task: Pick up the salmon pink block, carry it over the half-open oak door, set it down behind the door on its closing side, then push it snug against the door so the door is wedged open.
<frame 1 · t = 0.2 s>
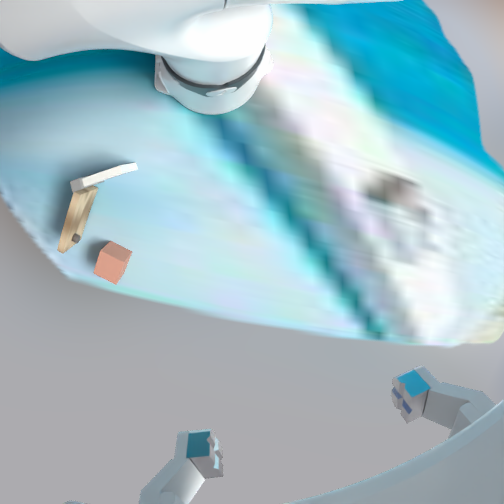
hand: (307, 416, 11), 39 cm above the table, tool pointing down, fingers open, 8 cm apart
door: (79, 219, 40), point 4 cm above the table, hinge at 50.0°
salmon pink block: (117, 256, 47), on the table
light grey slab: (99, 178, 42), on the table
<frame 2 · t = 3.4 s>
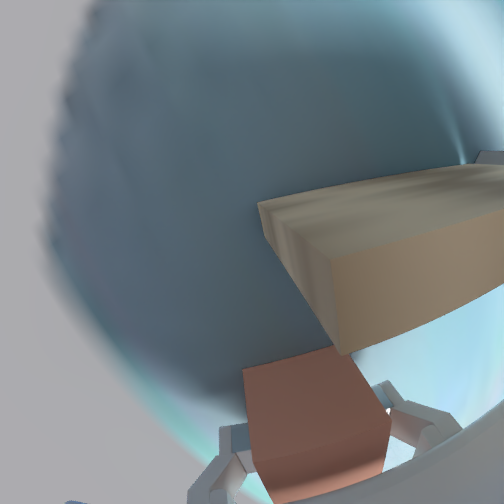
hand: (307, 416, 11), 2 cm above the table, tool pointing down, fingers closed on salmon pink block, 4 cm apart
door: (451, 218, 7), point 4 cm above the table, hinge at 50.0°
salmon pink block: (299, 391, 12), on the table, touching gripper
light grey slab: (482, 173, 10), on the table
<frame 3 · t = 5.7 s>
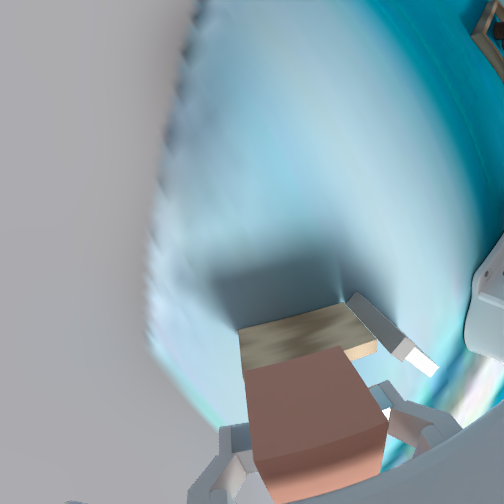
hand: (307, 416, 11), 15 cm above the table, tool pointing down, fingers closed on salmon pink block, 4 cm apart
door: (303, 346, 23), point 4 cm above the table, hinge at 50.0°
salmon pink block: (299, 393, 13), point 13 cm above the table, touching gripper
light grey slab: (356, 301, 26), on the table
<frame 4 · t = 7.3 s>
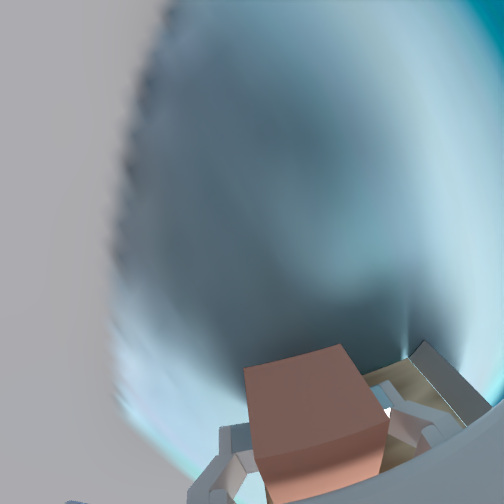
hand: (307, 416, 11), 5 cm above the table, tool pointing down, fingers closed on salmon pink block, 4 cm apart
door: (355, 435, 12), point 4 cm above the table, hinge at 51.0°
salmon pink block: (298, 391, 12), point 3 cm above the table, touching gripper
light grey slab: (421, 353, 16), on the table
when the fingers open (3 cm above the table, at t = 7.9 s): salmon pink block drops 1 cm, on the table.
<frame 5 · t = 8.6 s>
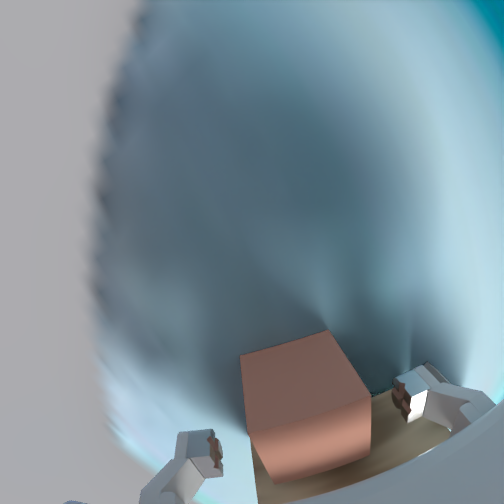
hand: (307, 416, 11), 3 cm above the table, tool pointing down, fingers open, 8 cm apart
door: (353, 464, 11), point 4 cm above the table, hinge at 51.0°
salmon pink block: (293, 375, 14), on the table
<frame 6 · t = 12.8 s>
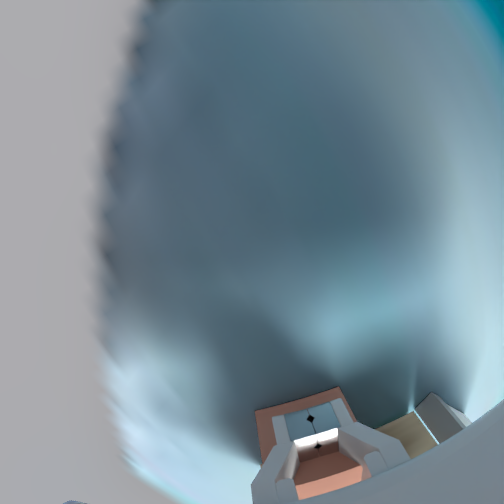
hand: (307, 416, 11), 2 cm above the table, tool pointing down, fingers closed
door: (358, 491, 11), point 4 cm above the table, hinge at 51.0°
salmon pink block: (303, 424, 13), on the table, touching gripper
light grey slab: (427, 403, 14), on the table
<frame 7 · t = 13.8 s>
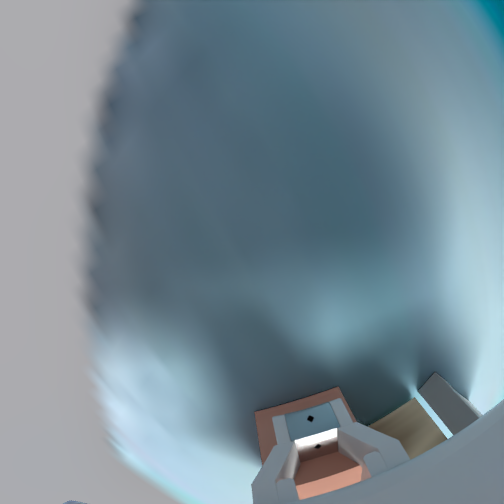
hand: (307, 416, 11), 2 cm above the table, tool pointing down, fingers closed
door: (365, 487, 11), point 4 cm above the table, hinge at 65.1°, touching salmon pink block
salmon pink block: (303, 425, 14), on the table, touching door, gripper
light grey slab: (431, 385, 14), on the table
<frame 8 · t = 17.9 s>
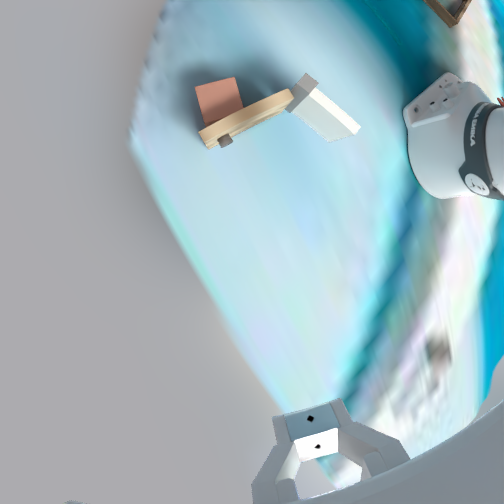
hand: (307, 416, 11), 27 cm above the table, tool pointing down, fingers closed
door: (246, 124, 29), point 4 cm above the table, hinge at 65.7°
salmon pink block: (220, 109, 32), on the table
light grey slab: (288, 104, 33), on the table
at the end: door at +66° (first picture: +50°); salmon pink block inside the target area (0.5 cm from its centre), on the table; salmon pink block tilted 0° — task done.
